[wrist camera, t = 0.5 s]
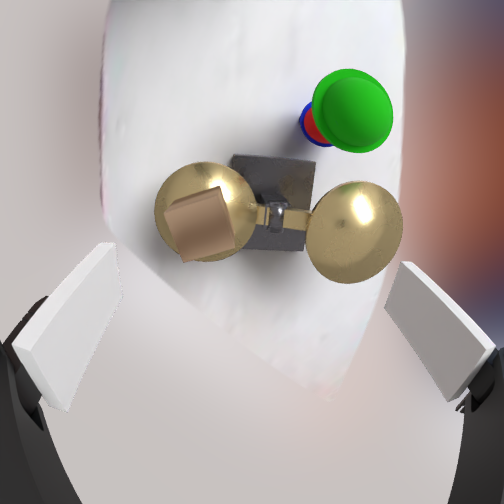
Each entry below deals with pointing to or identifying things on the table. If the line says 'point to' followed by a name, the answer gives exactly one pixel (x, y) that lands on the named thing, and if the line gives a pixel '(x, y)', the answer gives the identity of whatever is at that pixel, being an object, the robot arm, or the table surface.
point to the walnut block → (201, 224)
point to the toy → (348, 112)
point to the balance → (294, 214)
